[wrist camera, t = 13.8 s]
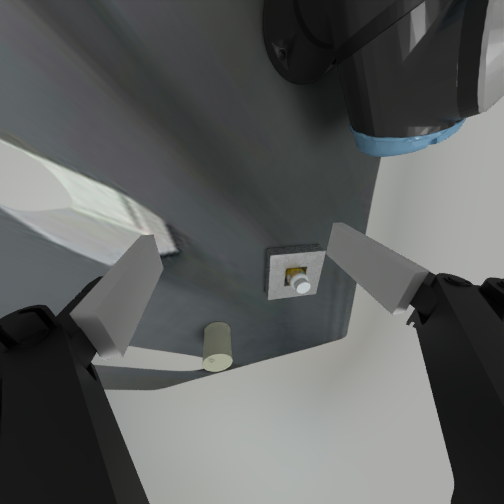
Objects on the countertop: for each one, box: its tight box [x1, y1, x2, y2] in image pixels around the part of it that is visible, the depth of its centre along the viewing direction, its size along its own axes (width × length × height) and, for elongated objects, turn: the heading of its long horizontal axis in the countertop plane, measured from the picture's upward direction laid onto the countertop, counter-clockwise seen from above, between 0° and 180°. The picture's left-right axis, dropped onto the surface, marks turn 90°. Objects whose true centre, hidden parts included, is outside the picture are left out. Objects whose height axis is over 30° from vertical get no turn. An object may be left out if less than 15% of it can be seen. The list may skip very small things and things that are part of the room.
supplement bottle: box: [285, 267, 310, 294], centre depth 52 cm, size 5×5×10 cm
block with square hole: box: [265, 244, 326, 300], centre depth 54 cm, size 16×16×4 cm
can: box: [202, 322, 233, 372], centre depth 59 cm, size 9×9×12 cm
